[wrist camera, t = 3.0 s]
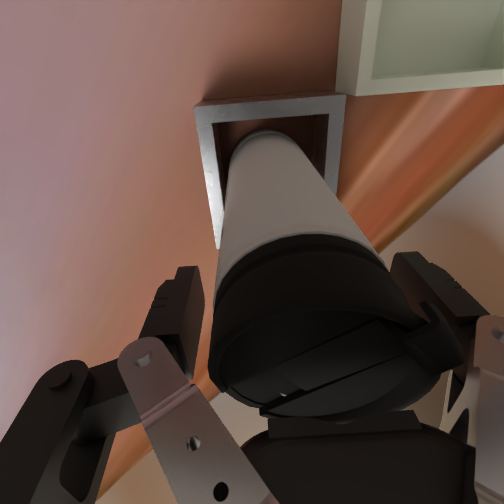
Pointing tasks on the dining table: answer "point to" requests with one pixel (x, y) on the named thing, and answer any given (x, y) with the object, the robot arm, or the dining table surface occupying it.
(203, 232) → the dining table surface
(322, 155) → the sleeve
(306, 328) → the travel mug
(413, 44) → the tray
